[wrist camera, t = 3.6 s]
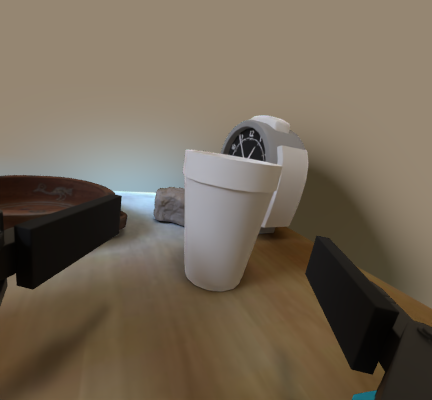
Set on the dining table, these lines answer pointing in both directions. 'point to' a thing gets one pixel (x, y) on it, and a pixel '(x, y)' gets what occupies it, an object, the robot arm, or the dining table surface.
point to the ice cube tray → (365, 396)
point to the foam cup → (223, 215)
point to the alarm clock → (277, 154)
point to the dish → (45, 197)
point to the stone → (170, 205)
